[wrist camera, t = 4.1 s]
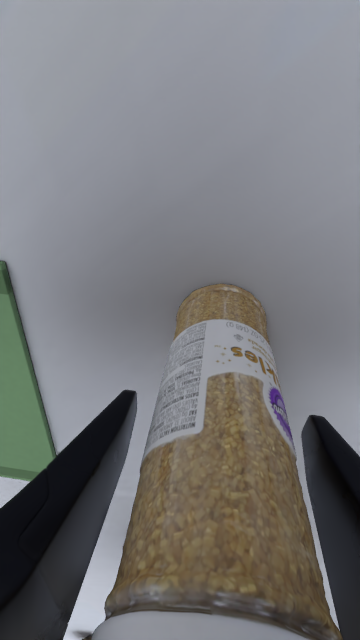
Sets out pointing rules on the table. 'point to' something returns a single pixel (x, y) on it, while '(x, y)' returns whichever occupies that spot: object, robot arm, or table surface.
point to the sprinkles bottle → (219, 495)
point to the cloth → (19, 398)
